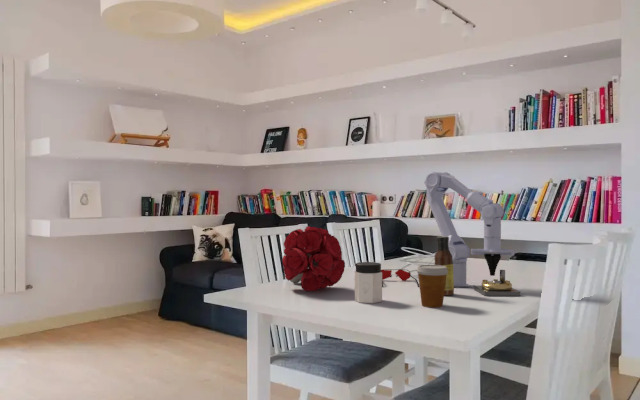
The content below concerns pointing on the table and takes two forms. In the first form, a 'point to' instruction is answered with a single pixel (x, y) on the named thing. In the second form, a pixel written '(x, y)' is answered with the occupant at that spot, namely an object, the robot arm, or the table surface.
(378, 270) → the jar
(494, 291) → the base plate
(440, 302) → the disposable coffee cup
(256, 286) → the table surface
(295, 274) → the bouquet
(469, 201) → the robot arm
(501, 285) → the gold round piece
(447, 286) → the sauce bottle
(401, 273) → the glasses
